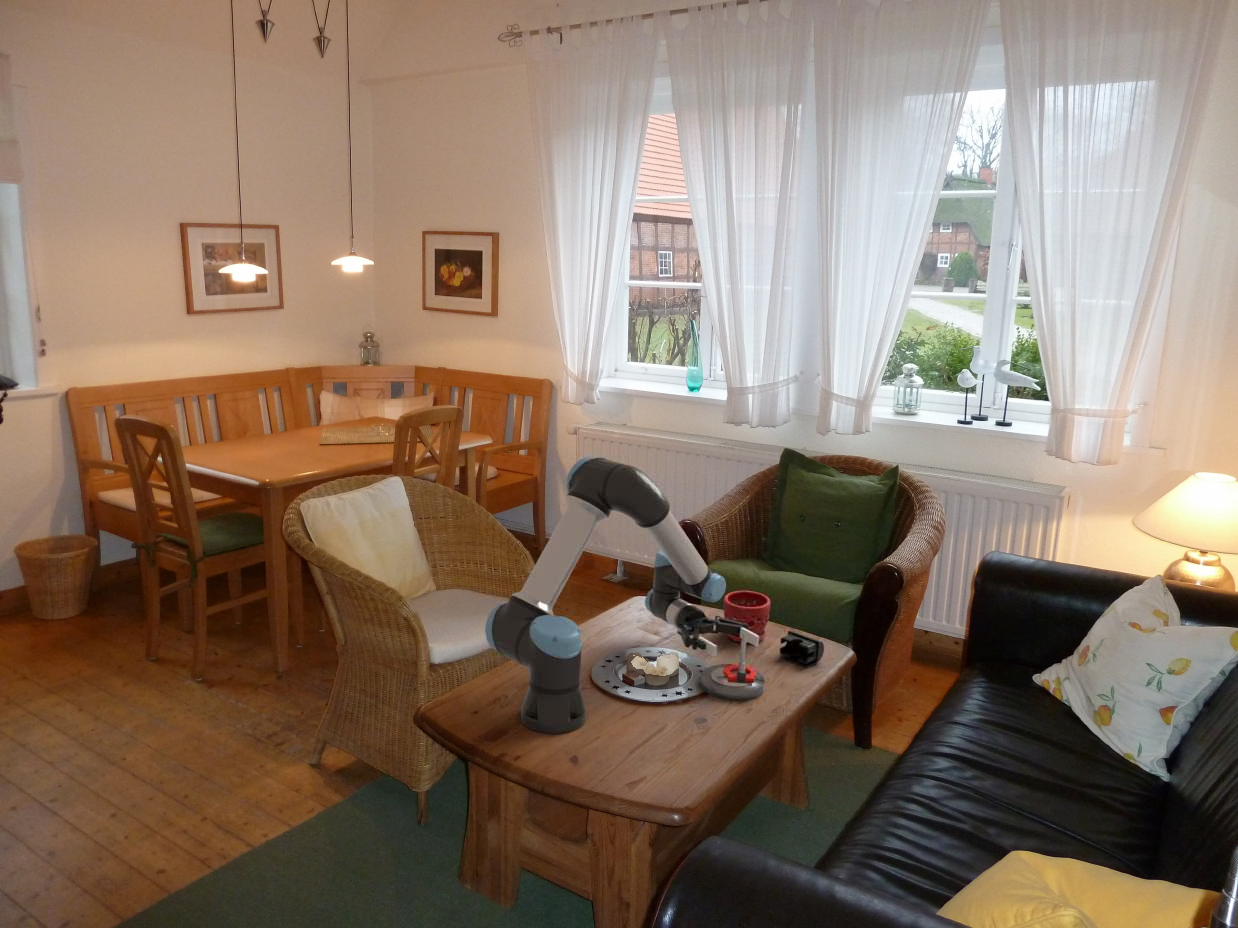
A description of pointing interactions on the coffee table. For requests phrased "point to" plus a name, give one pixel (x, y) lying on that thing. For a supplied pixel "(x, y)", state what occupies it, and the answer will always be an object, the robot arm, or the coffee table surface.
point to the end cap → (801, 649)
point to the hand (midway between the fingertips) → (737, 646)
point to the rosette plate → (730, 684)
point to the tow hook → (741, 667)
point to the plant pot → (748, 611)
